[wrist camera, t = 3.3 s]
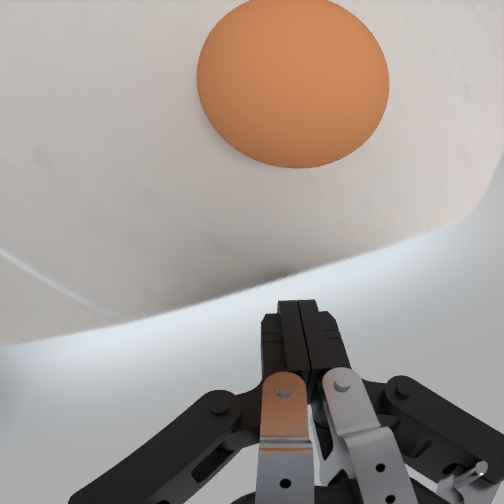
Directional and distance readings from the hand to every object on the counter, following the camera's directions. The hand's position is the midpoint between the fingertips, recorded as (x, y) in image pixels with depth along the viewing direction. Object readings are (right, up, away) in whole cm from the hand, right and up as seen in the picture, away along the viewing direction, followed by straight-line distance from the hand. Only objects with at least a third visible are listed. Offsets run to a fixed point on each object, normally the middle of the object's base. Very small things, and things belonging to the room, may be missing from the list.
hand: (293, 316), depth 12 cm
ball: (0, +8, -4) cm, 9 cm away
